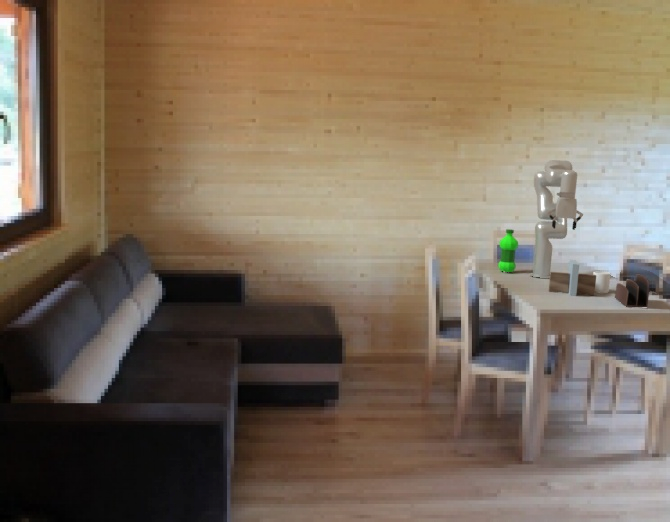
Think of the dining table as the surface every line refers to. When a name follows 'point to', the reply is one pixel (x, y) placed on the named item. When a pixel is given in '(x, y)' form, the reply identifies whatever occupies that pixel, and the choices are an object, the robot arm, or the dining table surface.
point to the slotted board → (561, 284)
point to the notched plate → (573, 277)
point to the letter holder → (633, 292)
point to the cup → (602, 281)
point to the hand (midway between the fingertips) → (563, 228)
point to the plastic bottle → (508, 252)
